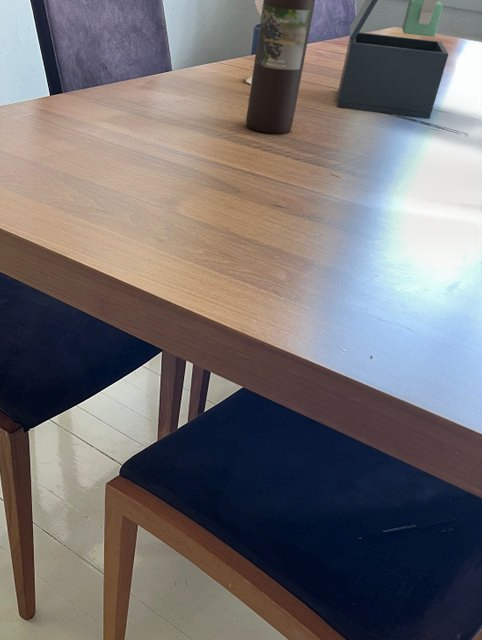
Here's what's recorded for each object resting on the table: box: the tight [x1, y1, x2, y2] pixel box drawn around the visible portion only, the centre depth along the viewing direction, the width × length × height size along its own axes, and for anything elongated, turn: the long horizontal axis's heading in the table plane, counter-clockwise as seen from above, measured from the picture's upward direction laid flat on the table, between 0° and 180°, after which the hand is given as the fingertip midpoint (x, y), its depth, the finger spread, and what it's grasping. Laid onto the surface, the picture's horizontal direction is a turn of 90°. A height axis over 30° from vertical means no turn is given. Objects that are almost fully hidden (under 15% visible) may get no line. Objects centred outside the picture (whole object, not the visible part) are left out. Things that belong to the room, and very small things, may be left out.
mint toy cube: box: [401, 0, 444, 38], centre depth 121 cm, size 5×5×4 cm
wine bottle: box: [245, 0, 316, 135], centre depth 102 cm, size 7×7×30 cm
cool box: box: [336, 31, 449, 119], centre depth 127 cm, size 16×13×10 cm
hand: (421, 21), depth 121 cm, fingers closed on mint toy cube, 5 cm apart
